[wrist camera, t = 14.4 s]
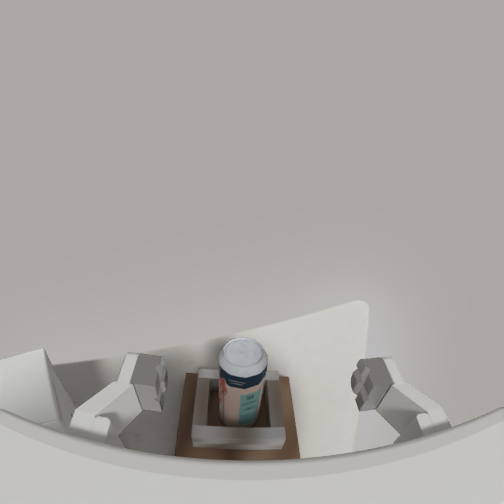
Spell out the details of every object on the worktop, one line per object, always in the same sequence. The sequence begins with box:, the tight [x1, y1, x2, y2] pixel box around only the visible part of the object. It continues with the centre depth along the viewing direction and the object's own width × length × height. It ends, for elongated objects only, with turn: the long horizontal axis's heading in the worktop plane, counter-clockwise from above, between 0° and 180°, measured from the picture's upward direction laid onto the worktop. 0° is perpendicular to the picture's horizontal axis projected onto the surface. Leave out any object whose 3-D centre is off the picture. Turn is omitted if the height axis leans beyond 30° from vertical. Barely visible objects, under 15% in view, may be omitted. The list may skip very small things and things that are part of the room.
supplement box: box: [0, 348, 77, 433], centre depth 20 cm, size 9×9×15 cm
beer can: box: [218, 337, 268, 428], centre depth 30 cm, size 5×5×12 cm
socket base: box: [175, 369, 300, 461], centre depth 32 cm, size 14×13×4 cm
